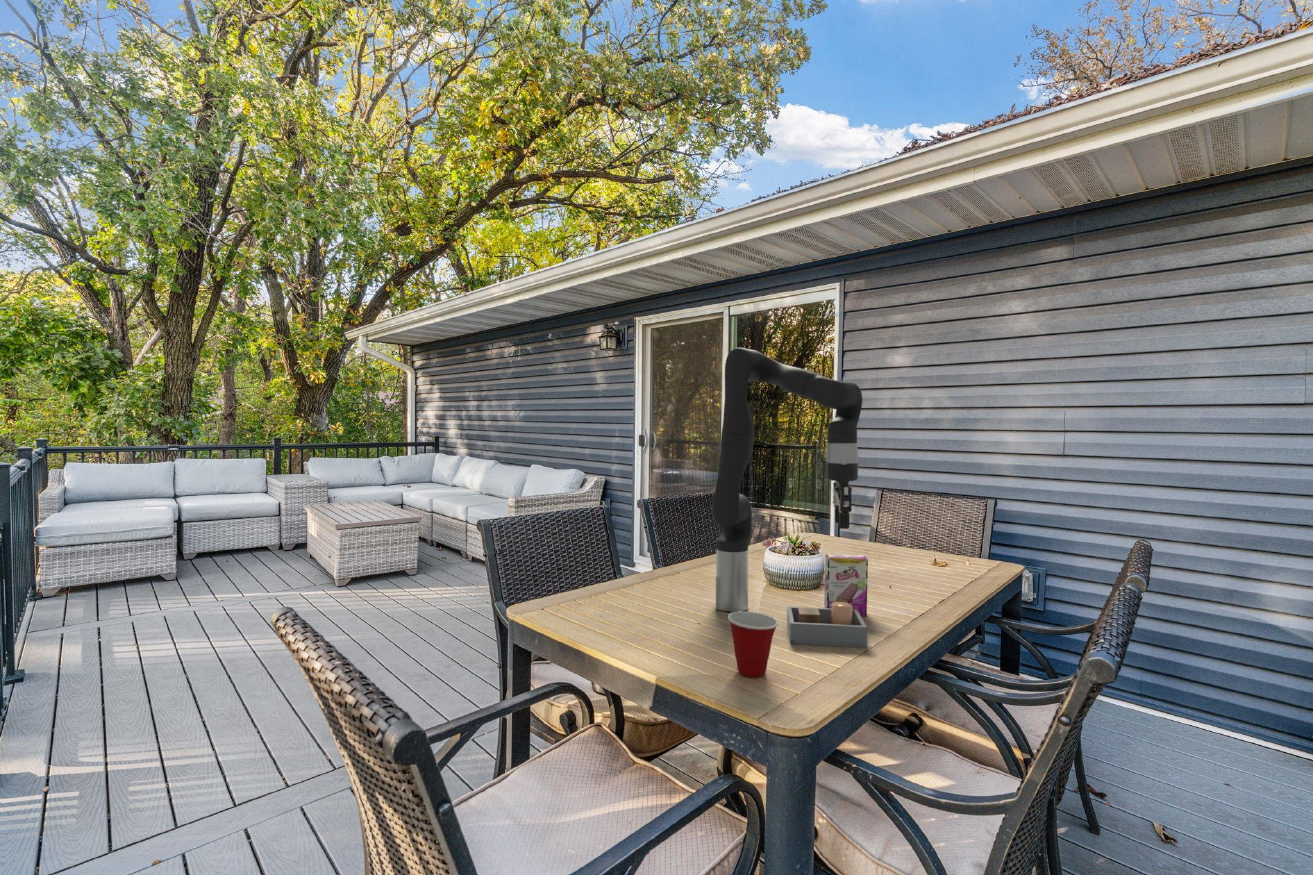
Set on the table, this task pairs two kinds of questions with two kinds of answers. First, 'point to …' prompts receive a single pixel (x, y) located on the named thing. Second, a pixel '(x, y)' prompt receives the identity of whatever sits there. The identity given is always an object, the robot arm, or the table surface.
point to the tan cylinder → (841, 613)
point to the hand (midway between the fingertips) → (841, 525)
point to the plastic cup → (752, 641)
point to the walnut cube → (808, 615)
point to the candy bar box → (846, 581)
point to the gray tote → (826, 630)
